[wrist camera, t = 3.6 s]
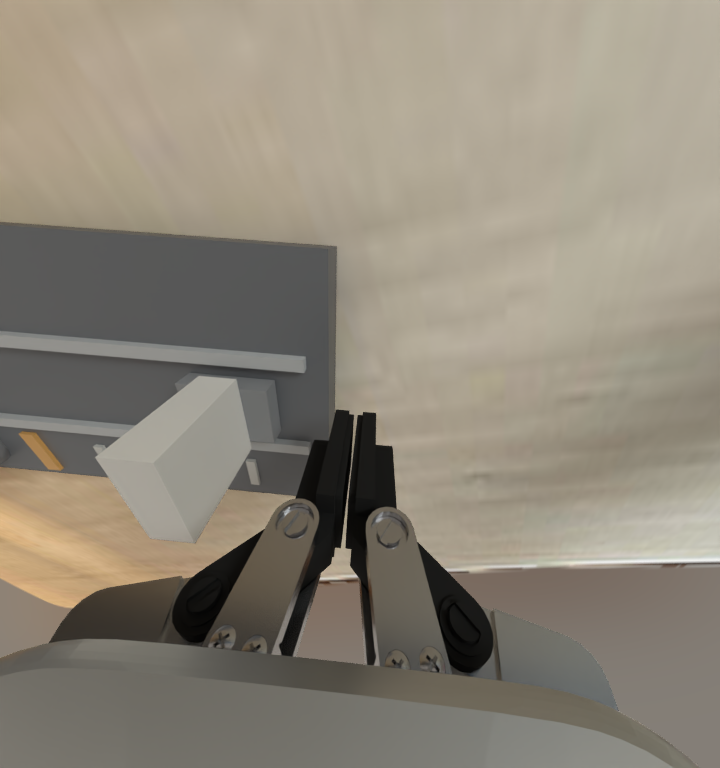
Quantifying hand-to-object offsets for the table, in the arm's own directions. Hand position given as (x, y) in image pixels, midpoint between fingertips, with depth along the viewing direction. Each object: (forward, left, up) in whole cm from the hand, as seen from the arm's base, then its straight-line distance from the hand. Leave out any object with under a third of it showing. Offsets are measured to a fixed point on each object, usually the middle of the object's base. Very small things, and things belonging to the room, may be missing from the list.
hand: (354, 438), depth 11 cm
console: (+14, 0, -4) cm, 14 cm away
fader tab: (+6, 0, -2) cm, 6 cm away
